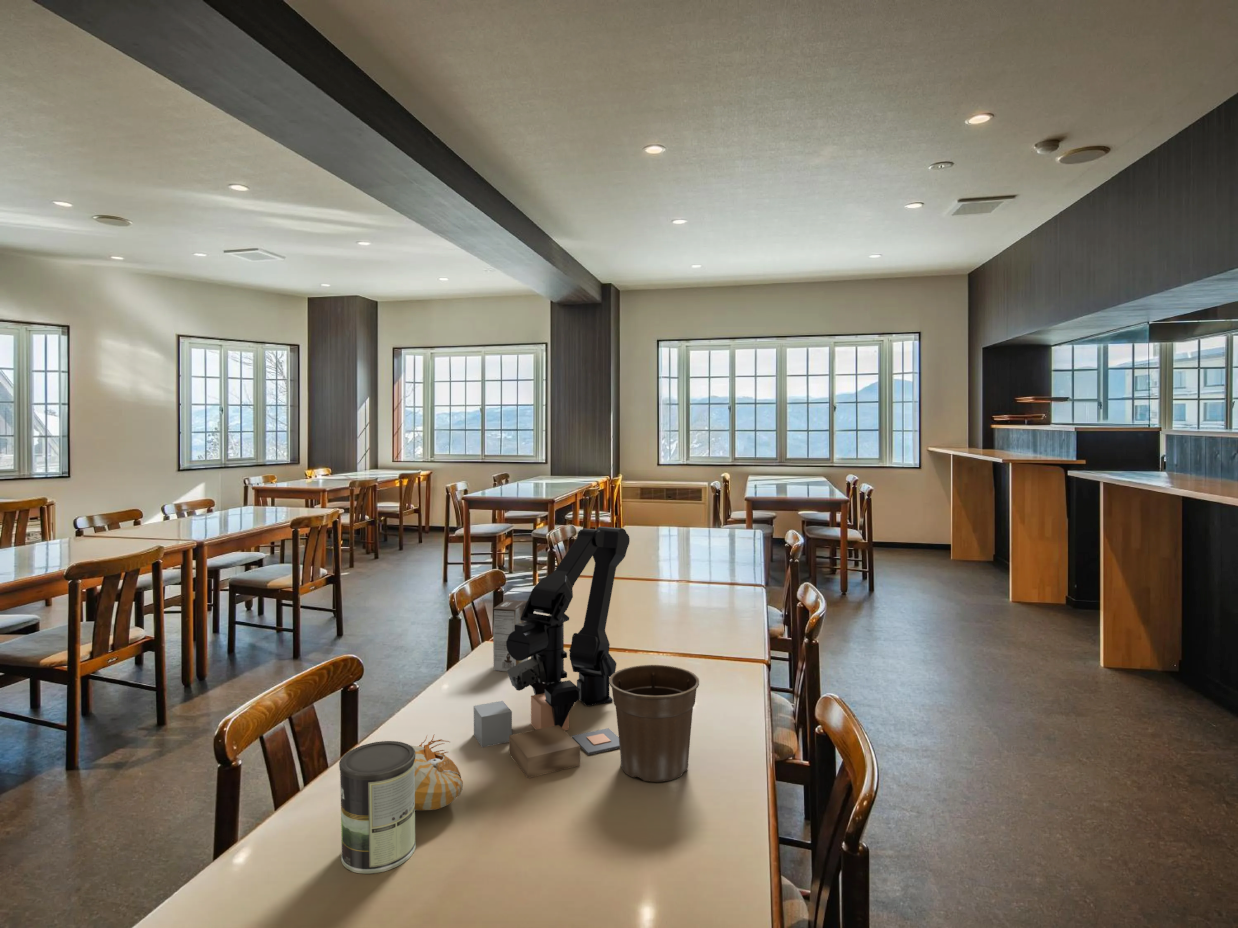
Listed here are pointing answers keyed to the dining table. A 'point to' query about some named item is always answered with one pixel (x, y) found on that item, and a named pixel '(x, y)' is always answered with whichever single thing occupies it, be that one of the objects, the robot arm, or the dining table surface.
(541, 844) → the dining table surface
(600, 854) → the dining table surface
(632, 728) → the plant pot
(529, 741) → the tan block
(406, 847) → the coffee can
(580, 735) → the card
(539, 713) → the terracotta cube
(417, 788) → the nautilus
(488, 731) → the slate grey cube
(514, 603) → the coffee box
